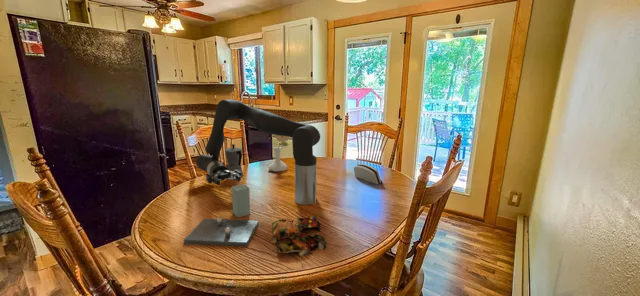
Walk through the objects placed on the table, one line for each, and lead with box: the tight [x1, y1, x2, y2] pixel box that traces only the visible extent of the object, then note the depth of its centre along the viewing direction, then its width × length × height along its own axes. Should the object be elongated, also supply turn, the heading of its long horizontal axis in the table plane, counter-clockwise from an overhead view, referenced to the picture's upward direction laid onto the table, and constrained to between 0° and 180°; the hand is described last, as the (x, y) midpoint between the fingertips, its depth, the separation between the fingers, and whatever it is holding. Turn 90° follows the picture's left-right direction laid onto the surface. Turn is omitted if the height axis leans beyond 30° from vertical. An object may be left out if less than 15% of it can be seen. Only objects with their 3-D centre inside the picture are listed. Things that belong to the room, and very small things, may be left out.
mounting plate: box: [183, 216, 260, 248], centre depth 90 cm, size 20×14×4 cm
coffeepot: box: [224, 143, 244, 177], centre depth 146 cm, size 15×9×18 cm, turn 43°
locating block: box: [231, 183, 251, 218], centre depth 103 cm, size 5×5×11 cm
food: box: [269, 215, 328, 256], centre depth 89 cm, size 22×19×4 cm
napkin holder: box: [353, 163, 383, 185], centre depth 145 cm, size 17×5×10 cm, turn 37°
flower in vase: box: [268, 135, 290, 172], centre depth 157 cm, size 13×11×25 cm
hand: (229, 180), depth 111 cm, fingers open, 8 cm apart
